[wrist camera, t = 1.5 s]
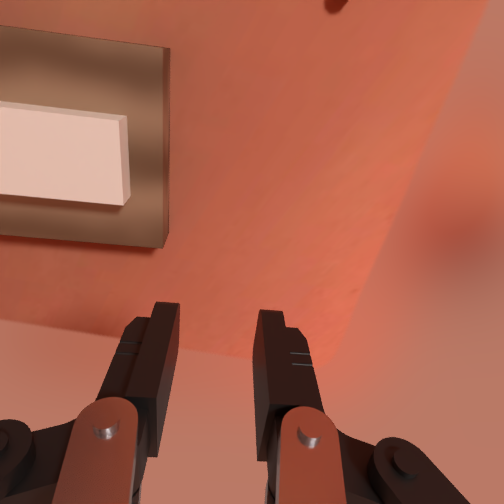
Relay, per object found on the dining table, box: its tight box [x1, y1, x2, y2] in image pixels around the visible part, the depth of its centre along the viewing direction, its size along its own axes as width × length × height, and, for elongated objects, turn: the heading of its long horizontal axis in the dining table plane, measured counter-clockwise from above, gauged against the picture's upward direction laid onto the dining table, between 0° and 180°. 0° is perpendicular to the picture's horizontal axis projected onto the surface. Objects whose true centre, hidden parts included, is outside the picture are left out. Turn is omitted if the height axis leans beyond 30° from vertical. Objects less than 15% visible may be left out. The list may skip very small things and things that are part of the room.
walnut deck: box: [0, 25, 170, 249], centre depth 28 cm, size 15×14×3 cm
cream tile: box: [0, 101, 131, 206], centre depth 25 cm, size 6×9×2 cm, turn 83°
